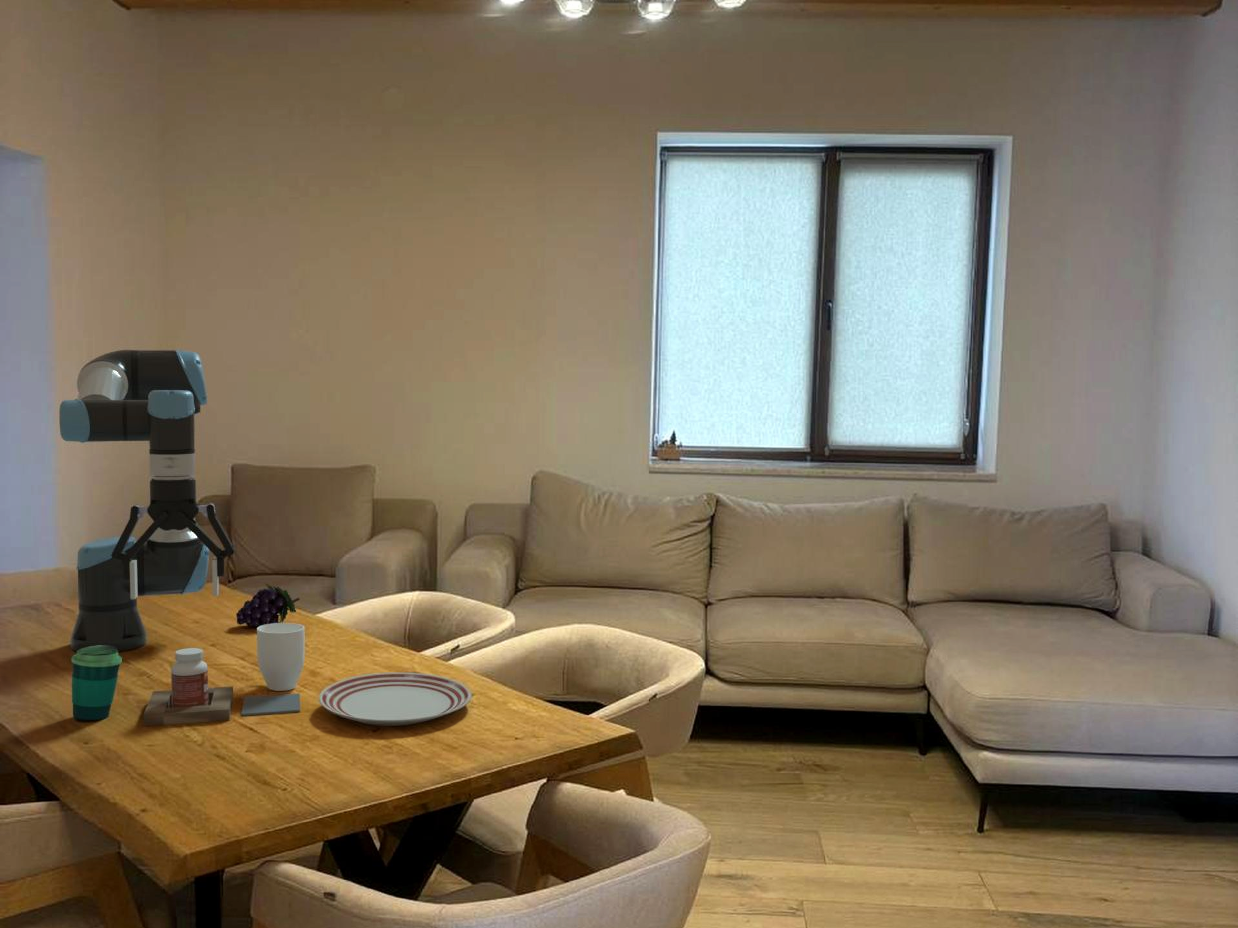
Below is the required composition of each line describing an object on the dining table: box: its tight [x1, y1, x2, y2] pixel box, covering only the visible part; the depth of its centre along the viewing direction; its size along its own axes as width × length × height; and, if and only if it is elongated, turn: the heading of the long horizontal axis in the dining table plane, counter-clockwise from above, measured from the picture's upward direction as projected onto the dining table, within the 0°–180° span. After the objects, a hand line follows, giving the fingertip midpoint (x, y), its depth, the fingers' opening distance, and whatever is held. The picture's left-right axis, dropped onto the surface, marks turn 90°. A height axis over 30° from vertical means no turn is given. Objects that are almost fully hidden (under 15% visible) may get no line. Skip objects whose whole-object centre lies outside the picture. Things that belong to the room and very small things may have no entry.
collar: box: [142, 685, 234, 727], centre depth 200 cm, size 14×14×2 cm
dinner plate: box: [318, 671, 472, 727], centre depth 203 cm, size 28×27×3 cm
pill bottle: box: [170, 647, 210, 708], centre depth 199 cm, size 6×6×11 cm
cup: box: [70, 645, 123, 723], centre depth 196 cm, size 8×8×12 cm
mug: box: [256, 622, 306, 692], centre depth 215 cm, size 12×9×12 cm
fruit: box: [235, 583, 301, 628], centre depth 262 cm, size 10×11×15 cm
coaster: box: [241, 693, 301, 717], centre depth 204 cm, size 10×10×1 cm
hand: (175, 596), depth 197 cm, fingers open, 13 cm apart
